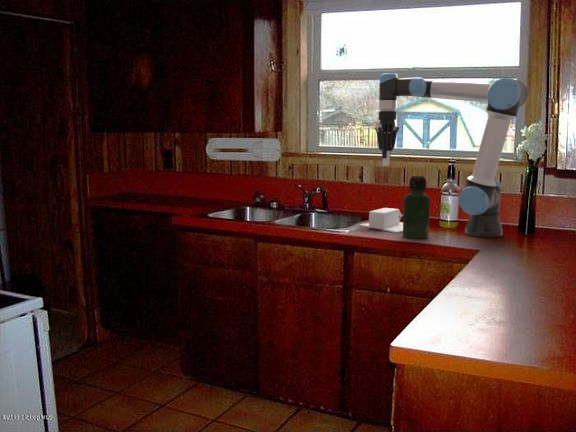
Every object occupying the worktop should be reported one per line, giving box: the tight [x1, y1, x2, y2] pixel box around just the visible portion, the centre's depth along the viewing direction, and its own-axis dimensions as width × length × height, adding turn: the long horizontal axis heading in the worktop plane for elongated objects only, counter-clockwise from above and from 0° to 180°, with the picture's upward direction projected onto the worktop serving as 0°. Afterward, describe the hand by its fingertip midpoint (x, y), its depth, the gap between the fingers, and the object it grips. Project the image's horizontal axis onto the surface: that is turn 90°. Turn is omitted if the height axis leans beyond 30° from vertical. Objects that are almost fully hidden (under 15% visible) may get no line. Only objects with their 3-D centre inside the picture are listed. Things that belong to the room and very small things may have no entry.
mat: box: [359, 221, 403, 234], centre depth 280 cm, size 22×20×1 cm
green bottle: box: [402, 175, 431, 240], centre depth 256 cm, size 10×10×25 cm
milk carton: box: [368, 207, 403, 230], centre depth 280 cm, size 7×7×19 cm
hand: (385, 165), depth 271 cm, fingers closed
